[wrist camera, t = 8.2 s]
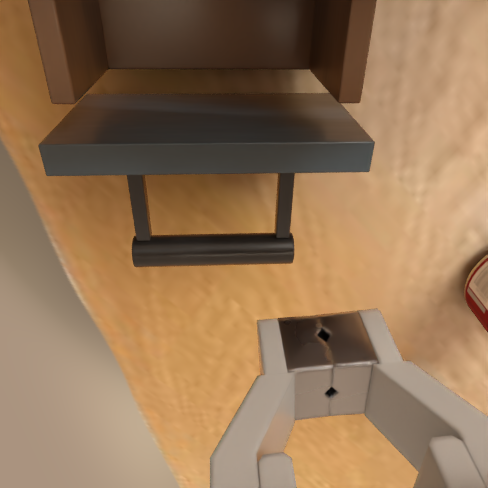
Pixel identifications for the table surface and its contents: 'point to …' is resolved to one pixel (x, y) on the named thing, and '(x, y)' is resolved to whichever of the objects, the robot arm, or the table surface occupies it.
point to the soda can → (478, 291)
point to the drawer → (205, 104)
